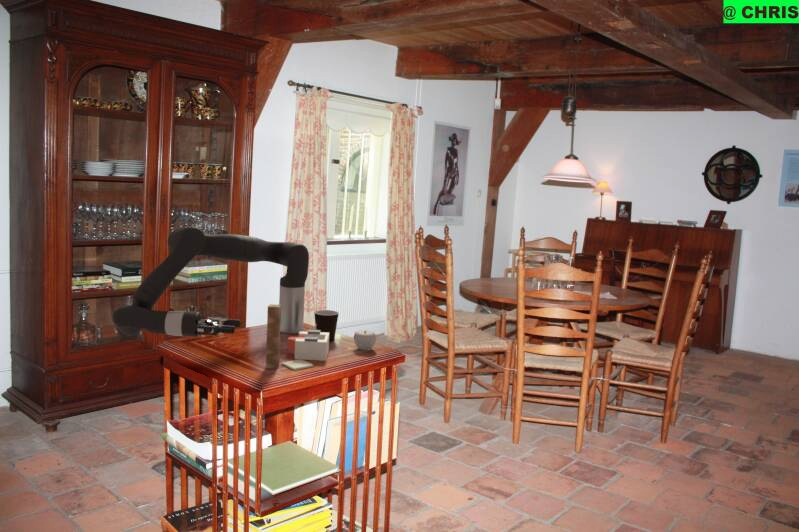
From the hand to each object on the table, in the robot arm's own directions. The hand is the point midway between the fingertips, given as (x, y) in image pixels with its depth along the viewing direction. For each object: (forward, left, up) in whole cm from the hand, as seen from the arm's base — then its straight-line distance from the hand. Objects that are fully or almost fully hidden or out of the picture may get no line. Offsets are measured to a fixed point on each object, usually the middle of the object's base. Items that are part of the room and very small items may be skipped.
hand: (237, 326), depth 197 cm
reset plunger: (-1, +23, -10) cm, 25 cm away
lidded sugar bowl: (+6, +45, -12) cm, 47 cm away
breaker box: (+2, +26, -12) cm, 29 cm away
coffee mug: (-12, +42, -12) cm, 46 cm away
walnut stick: (+7, +8, -12) cm, 16 cm away
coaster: (+10, +15, -12) cm, 22 cm away
